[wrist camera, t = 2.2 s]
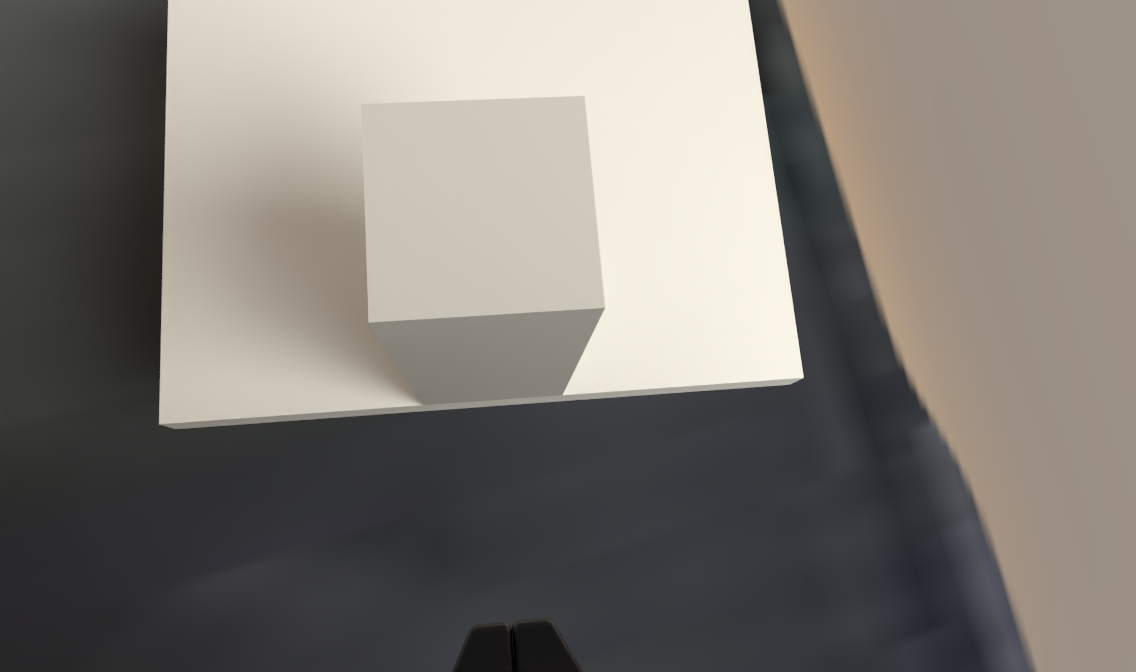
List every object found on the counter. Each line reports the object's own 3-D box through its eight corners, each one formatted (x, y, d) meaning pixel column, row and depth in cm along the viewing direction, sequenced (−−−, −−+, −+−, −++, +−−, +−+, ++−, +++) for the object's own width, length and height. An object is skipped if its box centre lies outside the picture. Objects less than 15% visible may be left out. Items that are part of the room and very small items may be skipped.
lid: (789, 384, 17) (1001, 283, 10) (176, 428, 16) (-95, 351, 9) (727, -46, 19) (864, -389, 12) (183, -35, 18) (-27, -406, 11)
